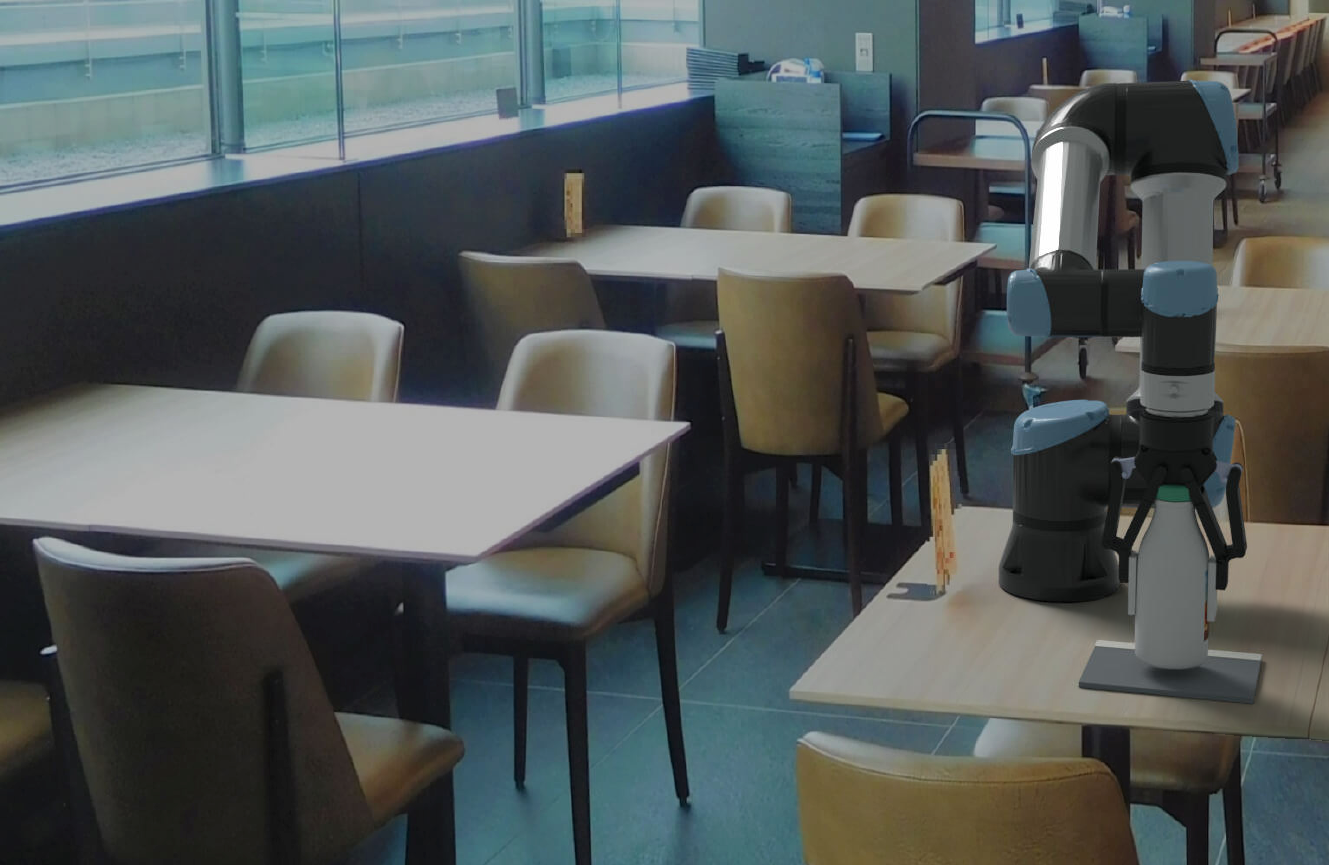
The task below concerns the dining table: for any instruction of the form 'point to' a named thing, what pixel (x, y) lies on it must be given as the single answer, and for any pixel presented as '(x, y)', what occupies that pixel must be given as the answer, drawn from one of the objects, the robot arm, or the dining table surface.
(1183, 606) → the milk bottle
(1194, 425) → the robot arm
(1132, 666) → the mat
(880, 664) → the dining table surface
